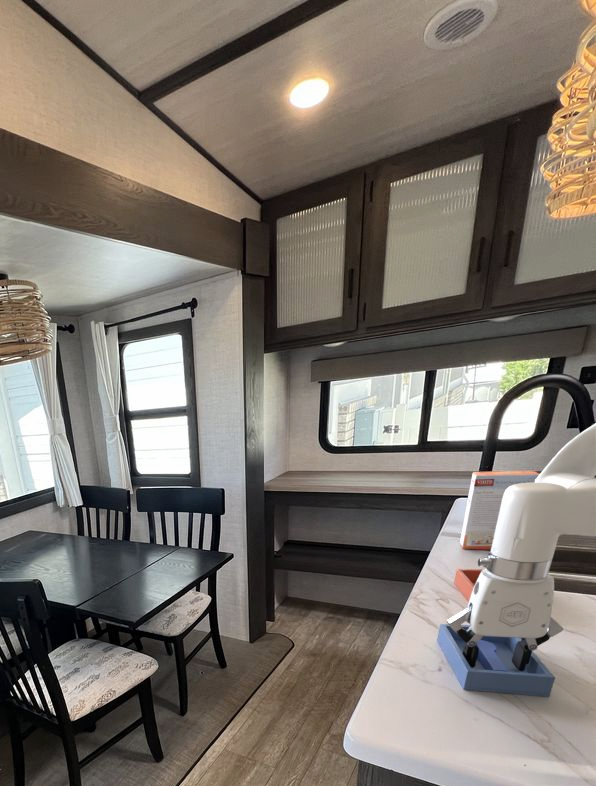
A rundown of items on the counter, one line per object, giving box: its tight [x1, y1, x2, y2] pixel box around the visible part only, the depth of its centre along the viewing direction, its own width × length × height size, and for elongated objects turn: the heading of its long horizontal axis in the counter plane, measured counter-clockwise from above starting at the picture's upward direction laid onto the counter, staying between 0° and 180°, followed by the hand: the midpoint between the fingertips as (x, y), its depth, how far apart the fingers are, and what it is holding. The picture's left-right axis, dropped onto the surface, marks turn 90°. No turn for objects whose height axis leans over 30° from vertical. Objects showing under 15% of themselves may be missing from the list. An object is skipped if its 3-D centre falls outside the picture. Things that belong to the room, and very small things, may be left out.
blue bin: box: [436, 623, 556, 698], centre depth 80 cm, size 12×17×4 cm
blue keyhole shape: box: [477, 640, 508, 672], centre depth 81 cm, size 11×4×2 cm, turn 163°
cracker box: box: [459, 470, 540, 551], centre depth 128 cm, size 14×6×21 cm, turn 65°
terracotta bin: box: [453, 568, 485, 603], centre depth 103 cm, size 12×17×4 cm
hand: (493, 664), depth 79 cm, fingers open, 6 cm apart
